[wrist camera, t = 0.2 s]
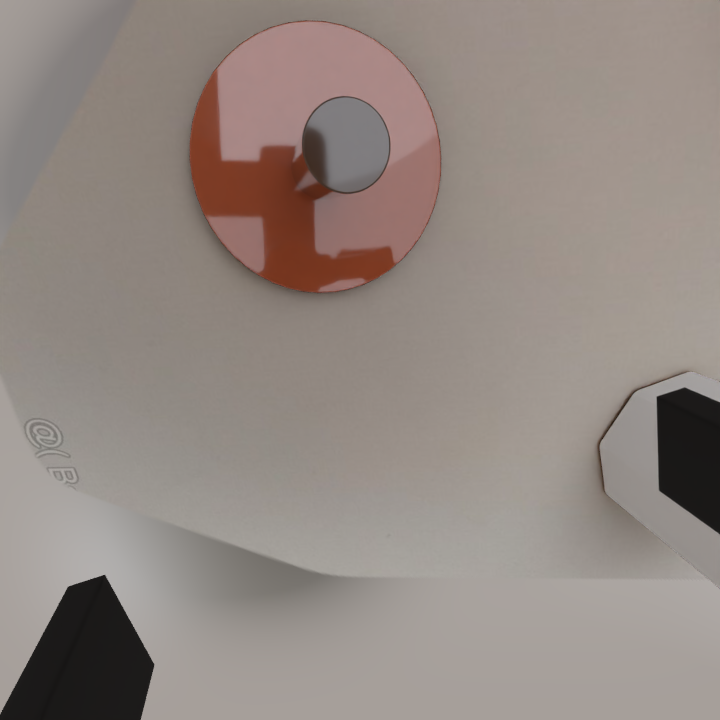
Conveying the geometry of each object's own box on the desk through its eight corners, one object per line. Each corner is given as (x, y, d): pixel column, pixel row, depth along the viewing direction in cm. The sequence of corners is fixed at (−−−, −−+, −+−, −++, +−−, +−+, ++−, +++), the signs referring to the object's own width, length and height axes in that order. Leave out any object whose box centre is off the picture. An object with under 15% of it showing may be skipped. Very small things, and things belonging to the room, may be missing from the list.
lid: (272, -34, 21) (275, -201, 13) (477, 134, 25) (586, 93, 16) (148, 207, 23) (77, 205, 15) (355, 329, 27) (396, 384, 18)
